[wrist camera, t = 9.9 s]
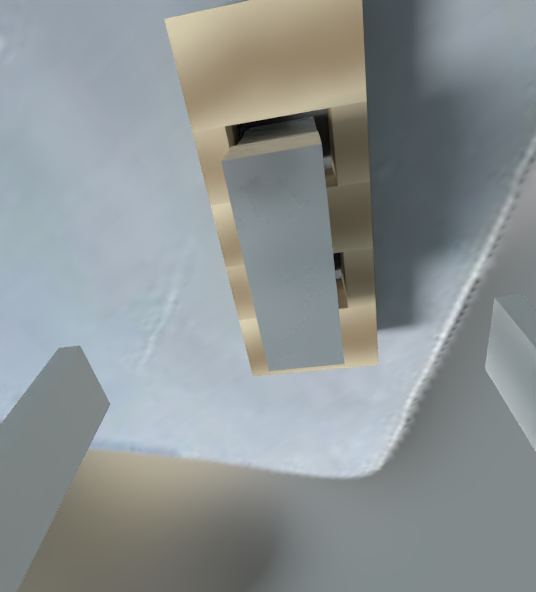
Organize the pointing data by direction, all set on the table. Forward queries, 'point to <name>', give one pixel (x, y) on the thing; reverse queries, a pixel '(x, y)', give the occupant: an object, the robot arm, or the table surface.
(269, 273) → the grey u-shaped block
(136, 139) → the table surface
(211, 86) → the wooden block with holes
